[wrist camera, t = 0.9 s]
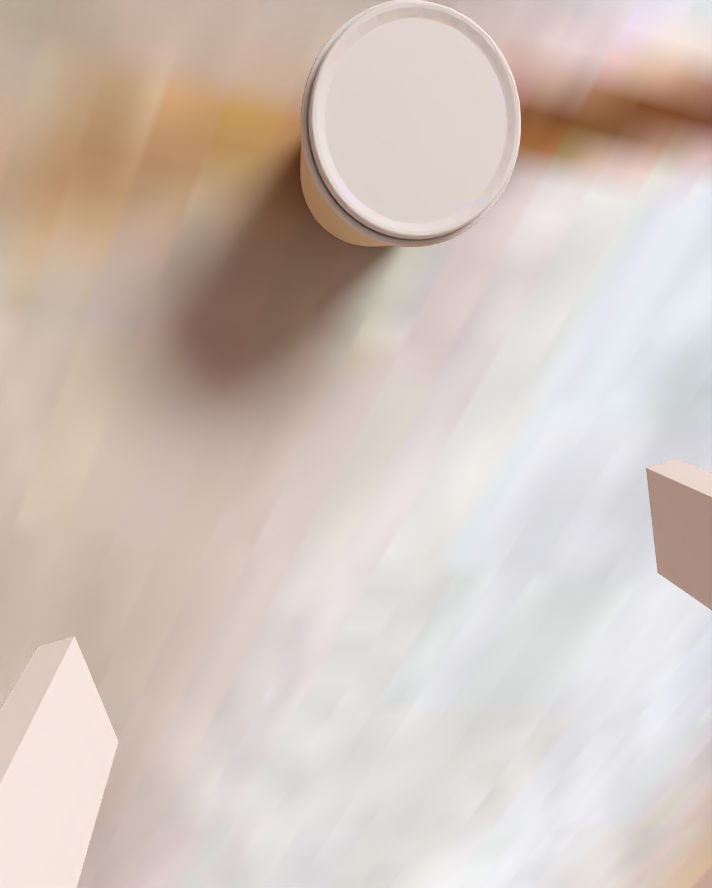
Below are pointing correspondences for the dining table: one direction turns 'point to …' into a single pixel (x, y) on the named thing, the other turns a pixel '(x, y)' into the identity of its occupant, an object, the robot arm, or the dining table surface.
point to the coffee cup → (407, 126)
